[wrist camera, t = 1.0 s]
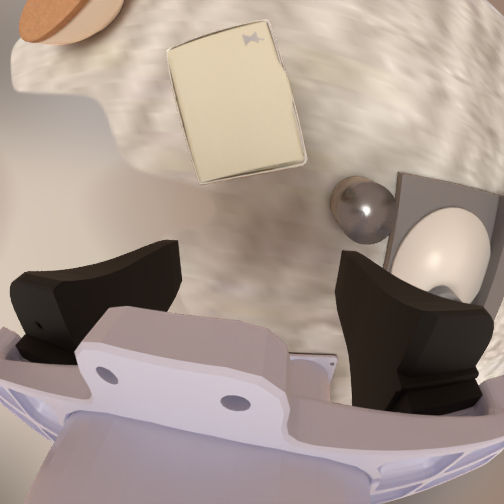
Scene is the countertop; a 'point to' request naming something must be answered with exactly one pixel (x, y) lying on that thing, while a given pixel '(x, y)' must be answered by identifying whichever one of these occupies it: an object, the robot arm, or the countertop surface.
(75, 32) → the lidded jar
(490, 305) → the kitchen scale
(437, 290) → the block
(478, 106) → the countertop surface
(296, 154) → the skincare box
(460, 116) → the countertop surface
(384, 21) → the countertop surface
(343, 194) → the cylinder
